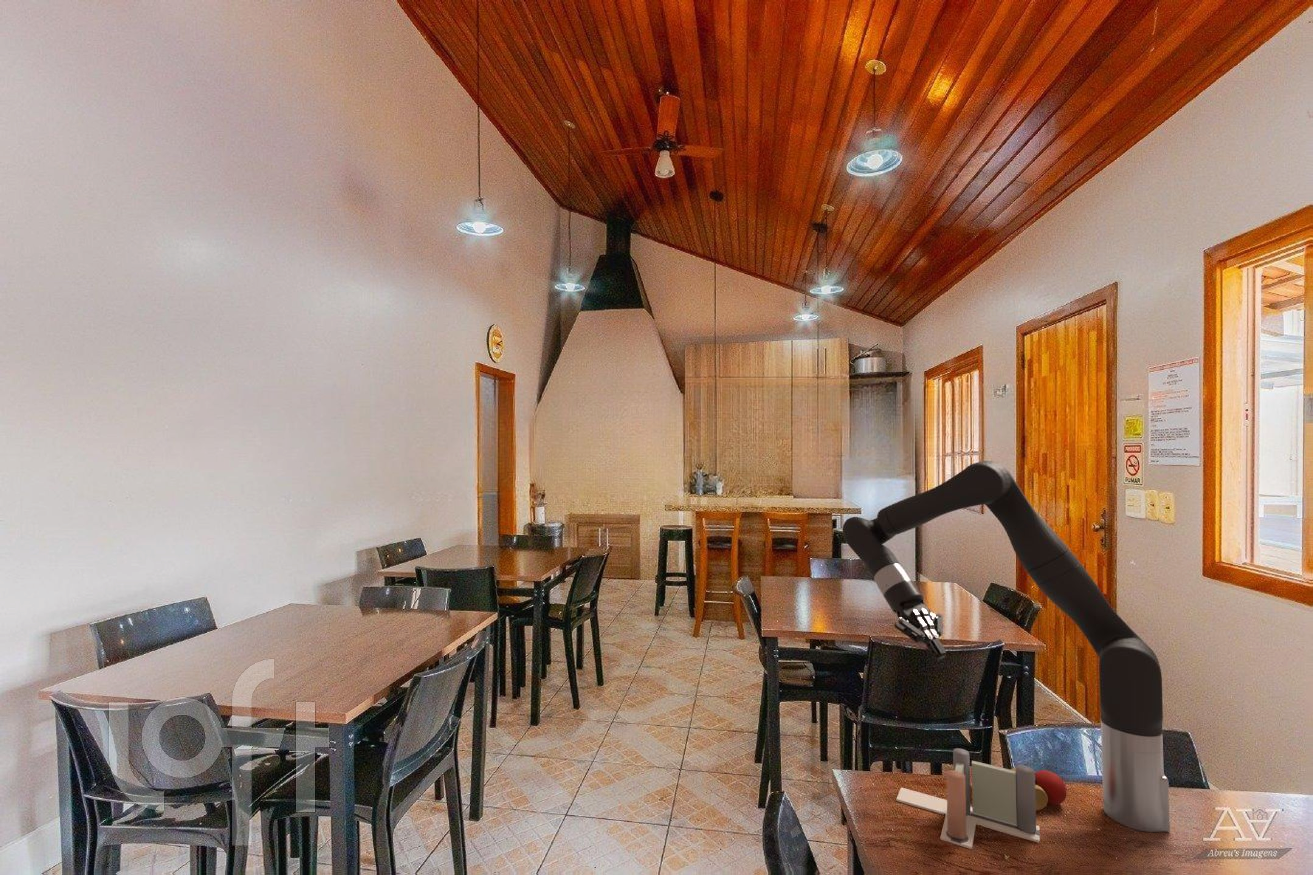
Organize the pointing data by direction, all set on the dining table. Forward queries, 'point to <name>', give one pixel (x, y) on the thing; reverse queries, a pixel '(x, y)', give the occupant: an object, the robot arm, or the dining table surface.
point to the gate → (956, 802)
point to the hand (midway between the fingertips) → (942, 657)
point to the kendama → (1046, 789)
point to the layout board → (971, 819)
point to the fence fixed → (1000, 791)
